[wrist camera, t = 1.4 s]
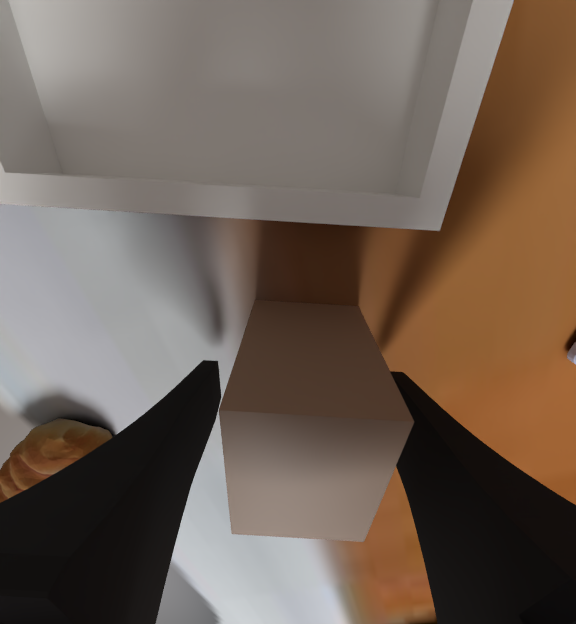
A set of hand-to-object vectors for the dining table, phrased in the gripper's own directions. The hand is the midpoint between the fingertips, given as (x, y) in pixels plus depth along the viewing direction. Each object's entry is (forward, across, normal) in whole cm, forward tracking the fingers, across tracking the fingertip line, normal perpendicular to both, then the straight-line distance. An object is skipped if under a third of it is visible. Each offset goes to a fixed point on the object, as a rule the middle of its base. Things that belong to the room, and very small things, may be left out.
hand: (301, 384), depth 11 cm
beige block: (+2, 0, 0) cm, 2 cm away
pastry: (+2, +14, +10) cm, 18 cm away
